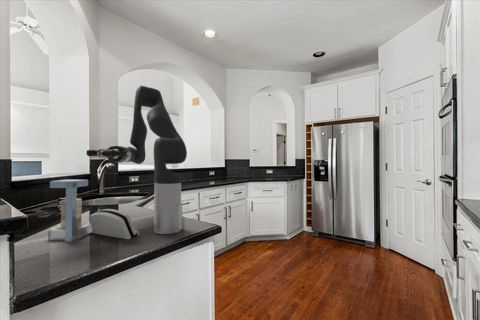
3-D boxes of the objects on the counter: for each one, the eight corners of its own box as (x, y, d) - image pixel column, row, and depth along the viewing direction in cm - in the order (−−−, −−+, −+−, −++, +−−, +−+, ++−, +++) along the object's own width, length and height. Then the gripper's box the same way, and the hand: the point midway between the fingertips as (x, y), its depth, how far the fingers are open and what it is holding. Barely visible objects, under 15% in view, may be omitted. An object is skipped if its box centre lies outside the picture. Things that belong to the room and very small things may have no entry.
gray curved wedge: (140, 235, 81) (132, 208, 78) (129, 243, 77) (121, 216, 74) (105, 229, 88) (97, 205, 85) (93, 237, 84) (84, 211, 81)
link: (81, 234, 82) (81, 198, 82) (73, 237, 78) (74, 200, 78) (69, 234, 82) (69, 198, 82) (60, 237, 78) (61, 200, 78)
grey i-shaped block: (92, 232, 84) (92, 179, 84) (71, 242, 74) (72, 181, 74) (67, 232, 84) (68, 178, 84) (42, 242, 73) (44, 181, 74)
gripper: (103, 145, 108) (80, 142, 92) (135, 146, 109) (118, 143, 92) (103, 162, 108) (80, 162, 92) (135, 162, 109) (117, 162, 92)
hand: (99, 152), depth 92 cm, fingers open, 8 cm apart
